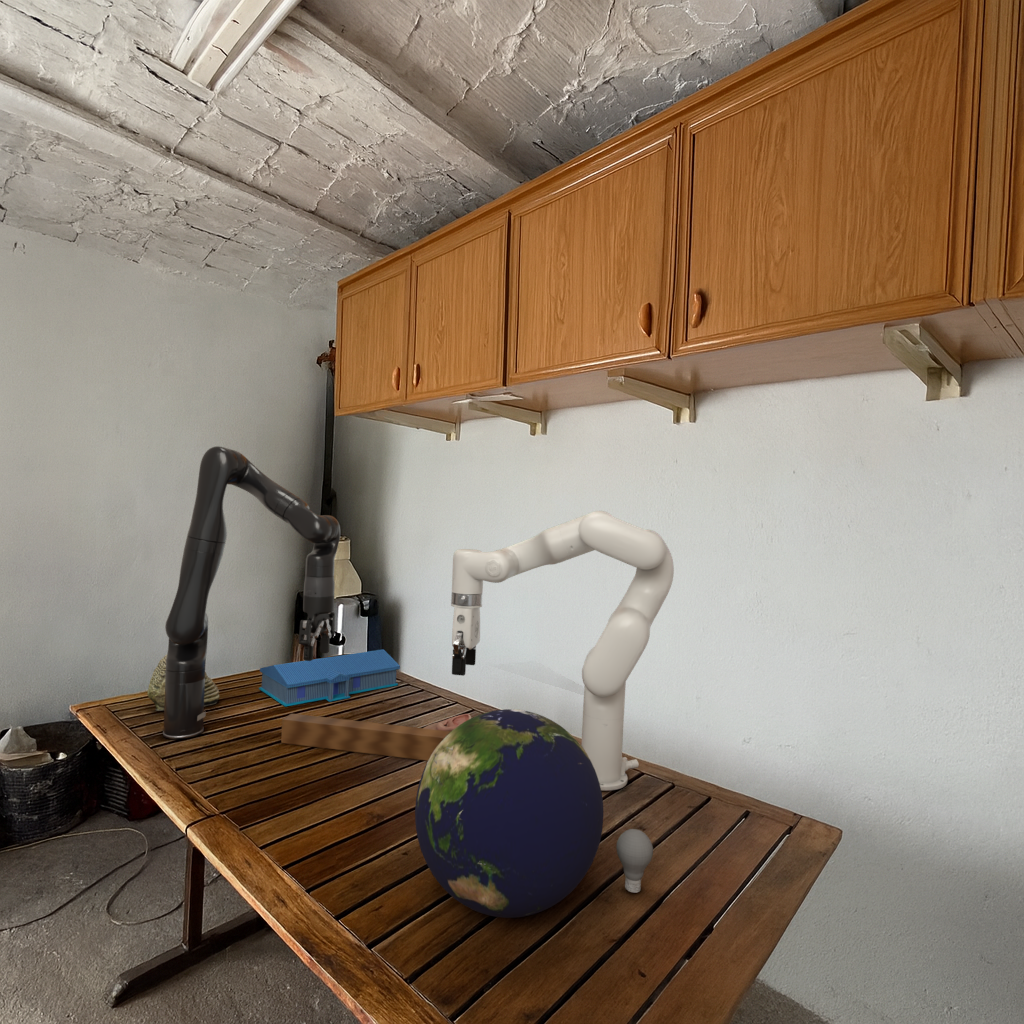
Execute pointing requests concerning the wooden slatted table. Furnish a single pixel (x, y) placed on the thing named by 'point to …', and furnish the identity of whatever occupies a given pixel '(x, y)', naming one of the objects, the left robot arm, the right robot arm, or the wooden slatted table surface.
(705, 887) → the wooden slatted table surface
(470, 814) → the globe
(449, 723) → the anatomical model
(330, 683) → the model building
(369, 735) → the post
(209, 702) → the fossil
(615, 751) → the right robot arm
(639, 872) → the light bulb
